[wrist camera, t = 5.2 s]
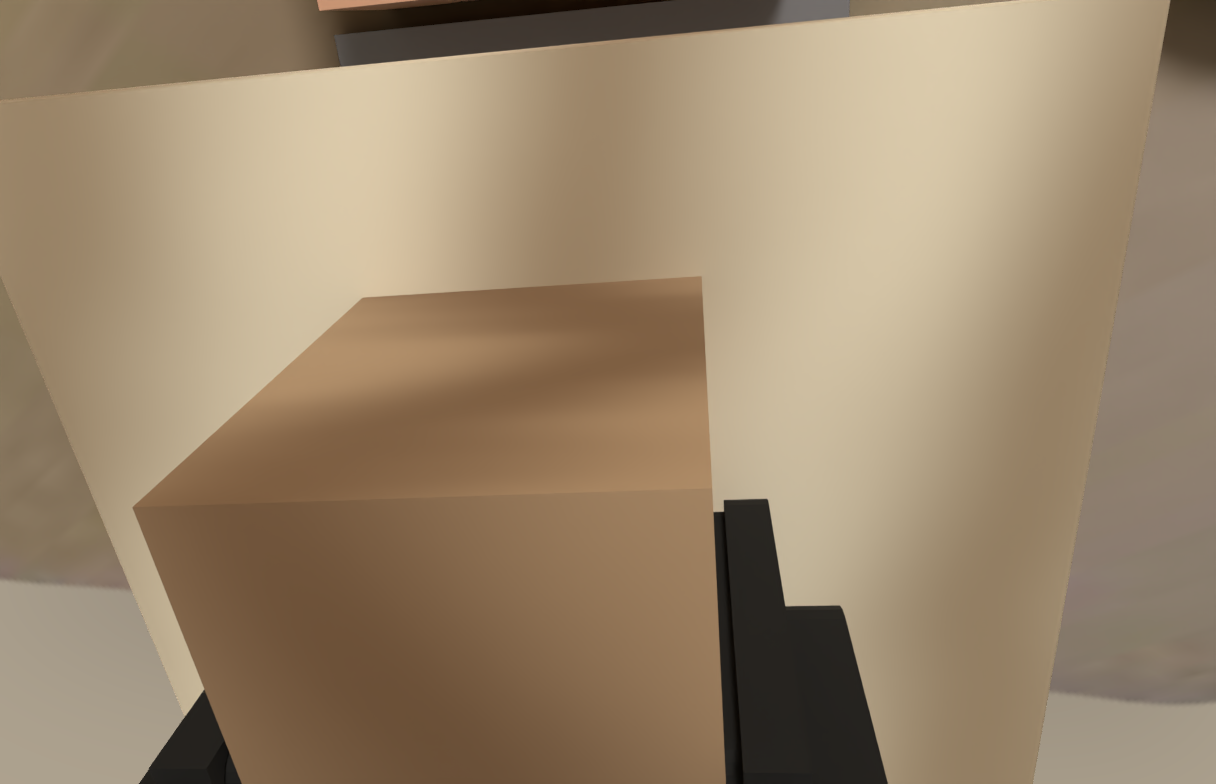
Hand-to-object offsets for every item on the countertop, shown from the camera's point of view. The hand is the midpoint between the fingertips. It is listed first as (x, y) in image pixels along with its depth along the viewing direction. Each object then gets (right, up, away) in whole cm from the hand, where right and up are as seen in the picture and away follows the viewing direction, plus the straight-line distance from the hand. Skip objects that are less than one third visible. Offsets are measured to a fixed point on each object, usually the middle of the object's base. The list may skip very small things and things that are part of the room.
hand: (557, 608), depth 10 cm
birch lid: (0, +1, +2) cm, 2 cm away
